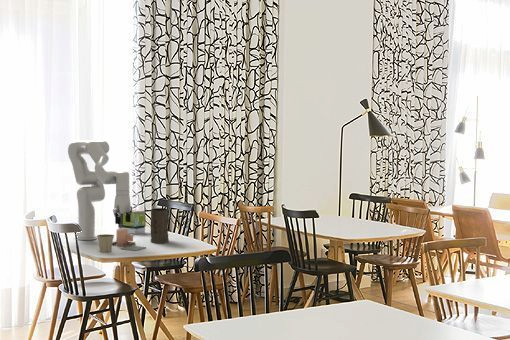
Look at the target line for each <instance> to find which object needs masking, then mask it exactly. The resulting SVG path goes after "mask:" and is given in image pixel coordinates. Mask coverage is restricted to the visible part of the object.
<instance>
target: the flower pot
mask: <svg viewBox="0 0 510 340" xmlns="http://www.w3.org/2000/svg"><path fill="white" fill-rule="evenodd" d="M96 236H97V242H98V248H99V252H100V253H106V252H108V253H109V252H112V247H113V246H112V242H114V241H113V240H114V237H115V234H109V233H108V234H106V233H105V234H104V233H103V234H98V235H96Z"/></svg>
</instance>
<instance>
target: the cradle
mask: <svg viewBox="0 0 510 340" xmlns="http://www.w3.org/2000/svg"><path fill="white" fill-rule="evenodd" d="M113 246H116V241H113V242H112V247H113ZM128 246H136V241H128V244H124V246H123V248H124V247H128Z"/></svg>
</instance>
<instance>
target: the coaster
mask: <svg viewBox="0 0 510 340" xmlns="http://www.w3.org/2000/svg"><path fill="white" fill-rule="evenodd" d="M144 249H147V247H146V246H138V245H132V246H128V247H124V246H123V247H120V250H125V251H133V252H134V251H135V252H136V251H140V250H141V251H142V250H144Z"/></svg>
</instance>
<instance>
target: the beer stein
mask: <svg viewBox="0 0 510 340" xmlns="http://www.w3.org/2000/svg"><path fill="white" fill-rule="evenodd" d="M168 211H169V210H168V208H165V207H163V208H162V207H160V208H159V207H157V208H151V209H150V243H153V244H165V243H168V242H169V241H170V240H169V230H168V225H169V212H168Z"/></svg>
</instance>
